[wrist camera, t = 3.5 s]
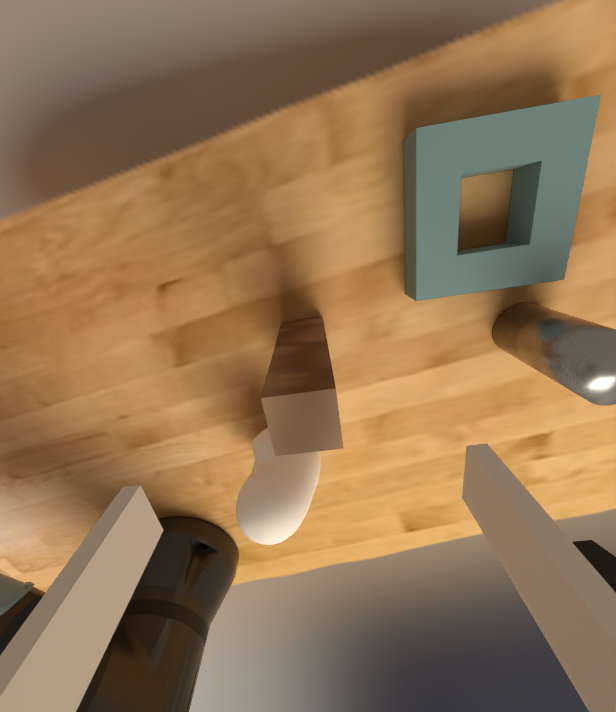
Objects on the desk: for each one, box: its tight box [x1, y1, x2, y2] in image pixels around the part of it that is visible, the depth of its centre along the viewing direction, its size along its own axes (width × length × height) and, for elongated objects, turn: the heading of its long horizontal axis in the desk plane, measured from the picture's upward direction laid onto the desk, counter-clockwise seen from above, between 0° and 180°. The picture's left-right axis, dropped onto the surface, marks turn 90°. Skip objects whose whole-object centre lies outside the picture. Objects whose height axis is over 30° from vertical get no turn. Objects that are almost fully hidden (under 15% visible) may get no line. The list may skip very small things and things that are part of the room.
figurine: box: [236, 428, 320, 545], centre depth 28 cm, size 7×8×12 cm
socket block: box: [403, 95, 601, 301], centre depth 23 cm, size 12×12×3 cm
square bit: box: [261, 317, 343, 456], centre depth 22 cm, size 4×4×14 cm
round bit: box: [492, 303, 616, 405], centre depth 24 cm, size 5×5×10 cm
